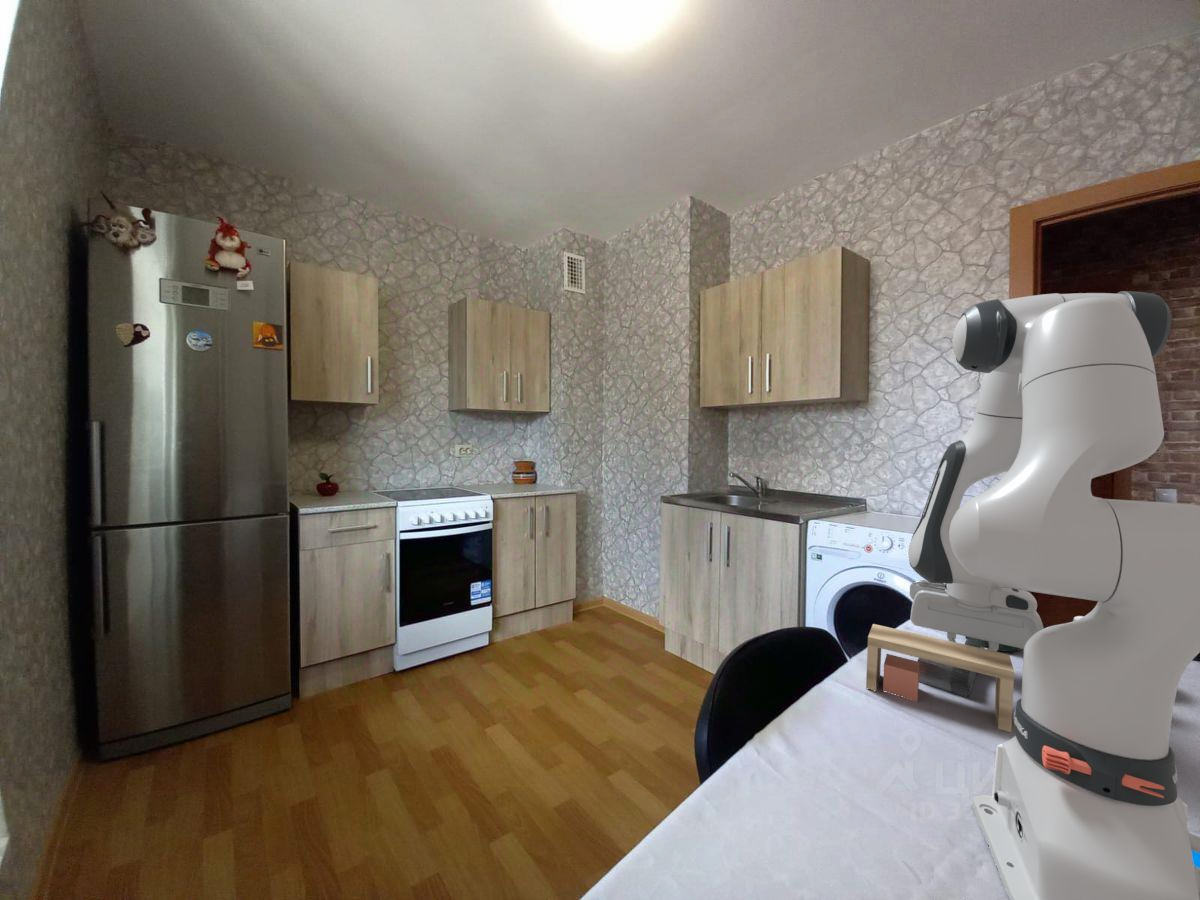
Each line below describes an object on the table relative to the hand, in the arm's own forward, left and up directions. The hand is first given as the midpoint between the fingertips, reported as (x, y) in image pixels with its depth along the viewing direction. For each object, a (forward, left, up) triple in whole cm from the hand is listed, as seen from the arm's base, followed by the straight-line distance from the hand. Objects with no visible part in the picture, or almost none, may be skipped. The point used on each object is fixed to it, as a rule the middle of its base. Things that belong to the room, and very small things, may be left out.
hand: (971, 658), depth 91 cm
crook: (-2, +3, -2) cm, 4 cm away
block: (-18, +10, -2) cm, 21 cm away
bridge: (-18, +6, -2) cm, 19 cm away
